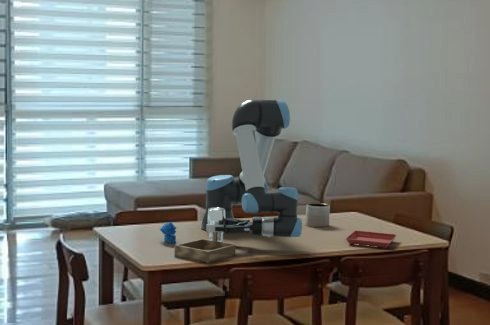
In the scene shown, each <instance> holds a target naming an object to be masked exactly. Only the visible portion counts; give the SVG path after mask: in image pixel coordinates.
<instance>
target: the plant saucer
mask: <svg viewBox="0 0 490 325" xmlns="http://www.w3.org/2000/svg"><path fill="white" fill-rule="evenodd" d="M396 237H397V234H394V233H386V232H385V233H384V232H376V231H374V232H373V231H365V230H354V231H352V232H351V233H350V234H349V235H348V236H346V237H345V240H346V241H347V242H348V244H349V245H350V244H359V245H369V246H377V247H383V248H382V249H387V248H388V247H389V246H390V245H391V243H392V242H394V240H395V239H396ZM377 247H376V248H377Z"/></svg>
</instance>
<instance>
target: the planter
mask: <svg viewBox="0 0 490 325" xmlns="http://www.w3.org/2000/svg"><path fill="white" fill-rule="evenodd" d="M305 206H306V208H305V225H306V226H307V225H308V227H311V226H314V227H313V228H327V227H329V225H330V214H331V213H330V212H331V211H330V210H331V208H330V206H331V205H330V204H328V203H324V202H323V203H321V202H310V203H306V205H305ZM326 226H327V227H326Z"/></svg>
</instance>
